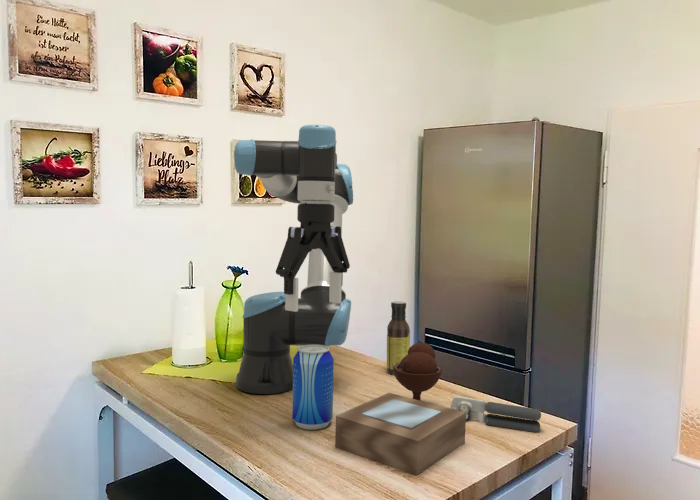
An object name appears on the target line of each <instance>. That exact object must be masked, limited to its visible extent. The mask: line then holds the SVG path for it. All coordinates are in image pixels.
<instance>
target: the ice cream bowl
mask: <svg viewBox="0 0 700 500" xmlns="http://www.w3.org/2000/svg"><path fill="white" fill-rule="evenodd" d="M435 358H436V352H435V349H434V348H433V347H432V346H431V345H430V344H428V343H426V342H416V343H414V344H412V345H410V348H409V350H408V355H406V356H405V357H404V358H403V359H402V360H401V362H400V363H397V364H396V365H395V366H394V367H393V371H394V375H395V376H394V375H393V376H394V377H395V379H396V380H397V382H399V384H400V385H402V386H403V388H405V389H406V390H408V391H410V392H411V393H412V399H416V400H419V401H422V400H421V398H422V397H421V396H422V393H424V392H426V391H429V390H431V389H432V388H433V387H434V386H435V385H436V384H437V383H438V381H439V380H440V378H441V376H442V371H443V368H442V367H440V366H439V365H438V364H437V361H436V359H435Z"/></svg>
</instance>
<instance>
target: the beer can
mask: <svg viewBox="0 0 700 500" xmlns="http://www.w3.org/2000/svg"><path fill="white" fill-rule="evenodd" d="M334 361H335V359H334V357H333V355H332V354H331V352H330V347H329V346H323V345H299V346H298V347H297V352H296V353H295V355H294V356H293V359H292V364H293V389H292V404H291V405H292V406H291V407H292V409H291V411H292V417H291V418H292V421H293V422H295V425H296V426H297V427H298V428H300V429H303V430H309V431H313V430H321V429H324V428H326V427H328V426H329V425H330V422H331V421H332V420H333V417H334V414H333V413H334V409H333V408H334V407H333V406H334V369H335V368H334V366H335V363H334Z"/></svg>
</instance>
